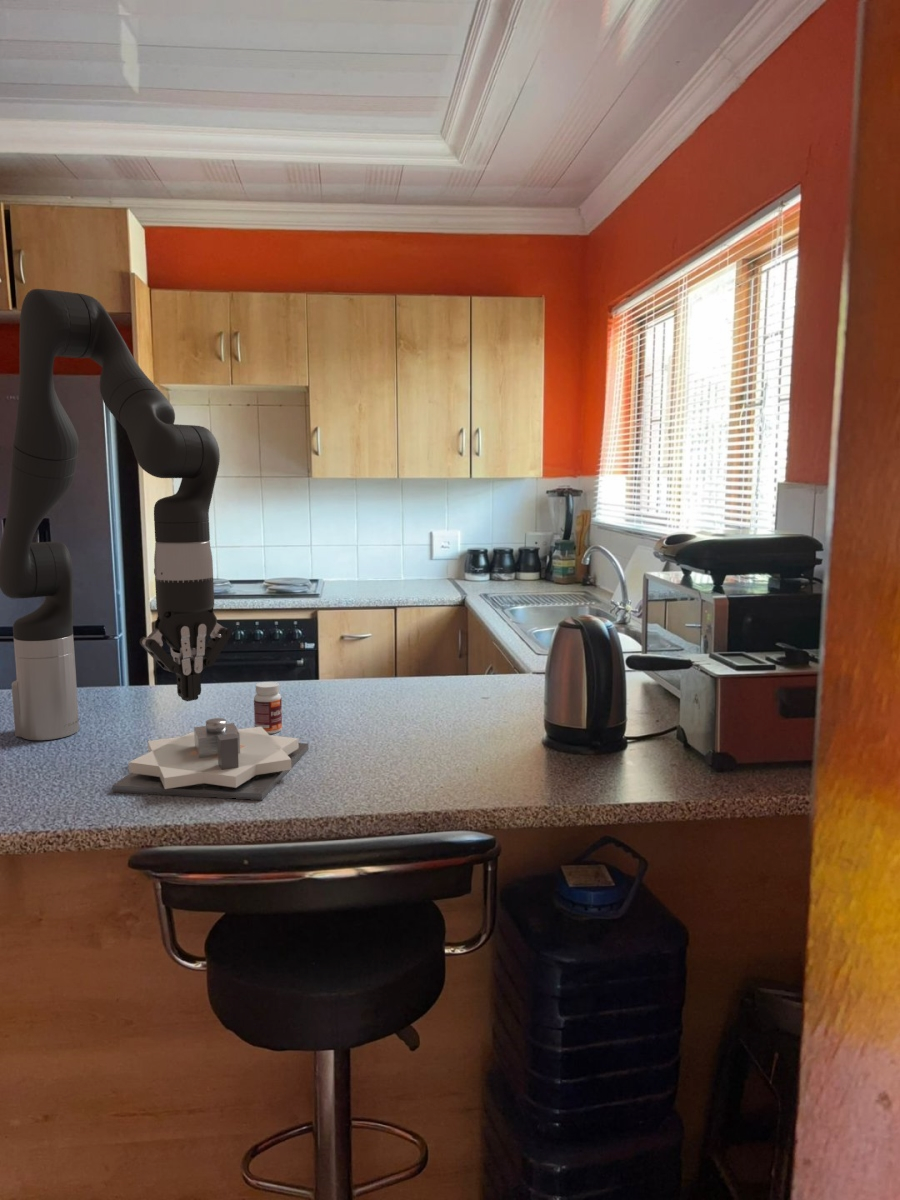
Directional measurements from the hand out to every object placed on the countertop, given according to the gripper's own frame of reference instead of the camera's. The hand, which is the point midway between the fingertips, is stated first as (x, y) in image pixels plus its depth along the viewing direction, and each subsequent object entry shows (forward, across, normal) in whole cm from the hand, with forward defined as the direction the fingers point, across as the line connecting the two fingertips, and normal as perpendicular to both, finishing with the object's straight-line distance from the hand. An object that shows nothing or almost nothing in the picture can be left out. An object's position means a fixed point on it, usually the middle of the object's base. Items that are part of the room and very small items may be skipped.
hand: (189, 699), depth 115 cm
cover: (+11, +8, +8) cm, 16 cm away
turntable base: (+14, +8, +8) cm, 18 cm away
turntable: (+12, +8, +8) cm, 17 cm away
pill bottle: (+14, +24, +19) cm, 34 cm away
